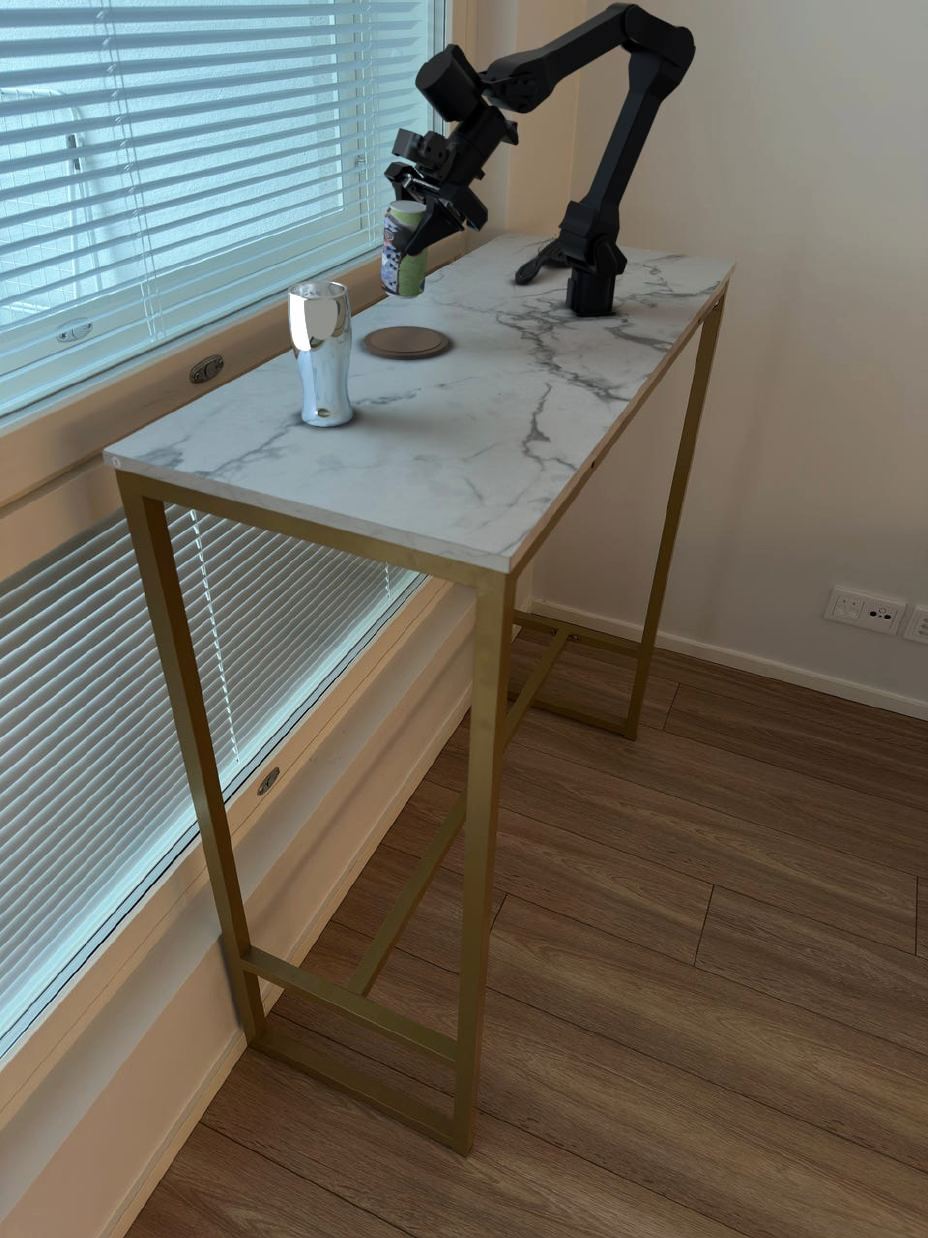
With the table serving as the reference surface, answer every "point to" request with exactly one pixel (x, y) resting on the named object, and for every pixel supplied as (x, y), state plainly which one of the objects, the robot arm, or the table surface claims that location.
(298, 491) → the table surface
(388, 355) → the coaster
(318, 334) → the beer glass
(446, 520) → the table surface
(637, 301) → the table surface
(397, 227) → the beverage can
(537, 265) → the hairbrush
